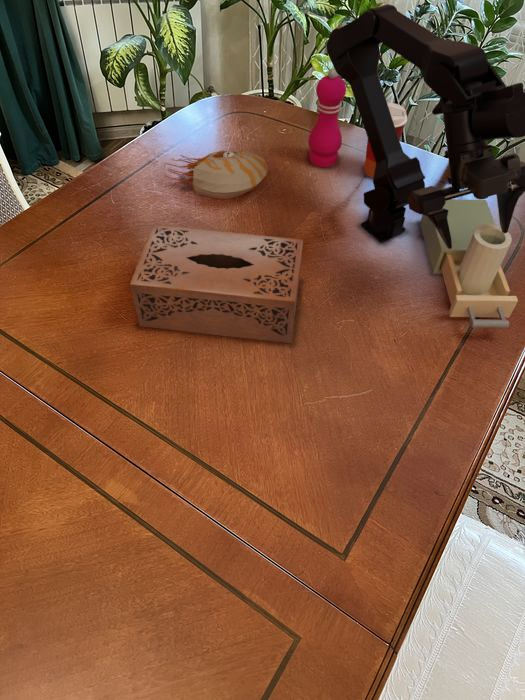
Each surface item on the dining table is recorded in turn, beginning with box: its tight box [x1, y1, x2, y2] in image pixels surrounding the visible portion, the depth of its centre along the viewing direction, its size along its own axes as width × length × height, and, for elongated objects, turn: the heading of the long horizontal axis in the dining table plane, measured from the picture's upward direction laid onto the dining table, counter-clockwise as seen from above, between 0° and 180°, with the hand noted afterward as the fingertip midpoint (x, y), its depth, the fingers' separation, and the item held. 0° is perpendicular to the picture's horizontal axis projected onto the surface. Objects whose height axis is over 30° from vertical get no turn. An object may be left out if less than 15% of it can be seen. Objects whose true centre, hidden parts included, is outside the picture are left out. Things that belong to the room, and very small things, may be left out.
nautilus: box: [164, 150, 269, 200], centre depth 118 cm, size 8×22×15 cm
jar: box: [457, 224, 513, 295], centre depth 97 cm, size 6×6×11 cm
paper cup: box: [363, 101, 408, 179], centre depth 119 cm, size 8×8×14 cm
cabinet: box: [419, 198, 496, 275], centre depth 108 cm, size 14×11×6 cm
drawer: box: [440, 253, 519, 329], centre depth 99 cm, size 18×10×4 cm, turn 0°
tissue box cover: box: [129, 223, 304, 344], centre depth 96 cm, size 26×14×10 cm, turn 83°
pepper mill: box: [308, 68, 347, 168], centre depth 119 cm, size 7×7×20 cm
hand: (477, 240), depth 92 cm, fingers open, 9 cm apart
